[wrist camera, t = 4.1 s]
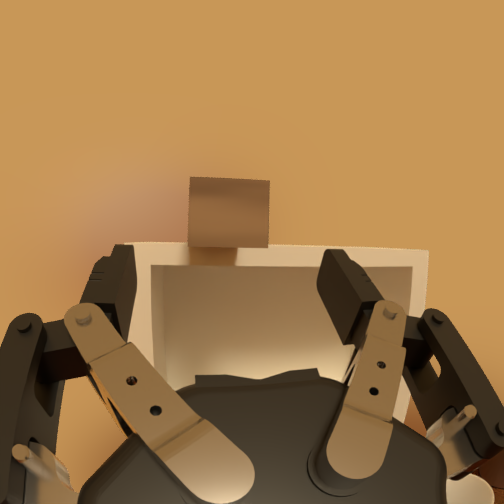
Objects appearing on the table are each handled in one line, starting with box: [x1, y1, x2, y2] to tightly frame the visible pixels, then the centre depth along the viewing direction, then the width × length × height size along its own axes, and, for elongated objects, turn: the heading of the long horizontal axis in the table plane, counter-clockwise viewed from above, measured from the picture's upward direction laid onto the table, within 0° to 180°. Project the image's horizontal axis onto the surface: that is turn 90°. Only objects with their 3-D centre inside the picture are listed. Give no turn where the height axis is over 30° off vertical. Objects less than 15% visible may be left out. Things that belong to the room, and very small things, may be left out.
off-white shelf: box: [124, 242, 429, 424], centre depth 30 cm, size 12×26×32 cm, turn 101°
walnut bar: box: [187, 177, 270, 248], centre depth 24 cm, size 22×4×3 cm, turn 11°
